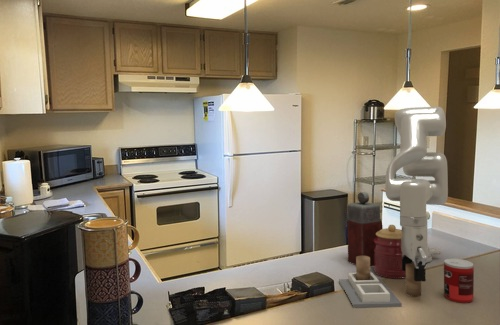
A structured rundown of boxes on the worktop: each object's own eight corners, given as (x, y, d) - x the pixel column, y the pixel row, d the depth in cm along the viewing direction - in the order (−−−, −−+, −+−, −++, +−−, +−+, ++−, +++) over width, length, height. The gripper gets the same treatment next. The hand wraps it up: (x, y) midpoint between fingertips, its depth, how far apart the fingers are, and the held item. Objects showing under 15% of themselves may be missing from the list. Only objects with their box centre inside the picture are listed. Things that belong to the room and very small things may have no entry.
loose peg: (417, 290, 125) (417, 263, 124) (423, 296, 120) (423, 267, 120) (403, 291, 125) (403, 263, 124) (409, 296, 120) (408, 268, 120)
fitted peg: (368, 281, 131) (367, 255, 130) (372, 286, 127) (371, 259, 126) (355, 282, 131) (354, 255, 130) (358, 287, 127) (358, 259, 126)
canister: (387, 281, 134) (387, 230, 132) (366, 269, 146) (366, 222, 145) (419, 276, 137) (419, 226, 136) (396, 265, 150) (396, 219, 148)
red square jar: (385, 263, 152) (384, 192, 150) (362, 268, 147) (361, 194, 146) (370, 257, 160) (369, 189, 158) (347, 261, 156) (346, 191, 154)
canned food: (447, 290, 124) (447, 256, 123) (475, 296, 119) (476, 261, 118) (440, 299, 118) (440, 263, 117) (470, 305, 113) (471, 268, 112)
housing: (379, 281, 134) (379, 271, 134) (401, 306, 114) (401, 294, 114) (339, 282, 134) (338, 272, 134) (353, 307, 114) (353, 296, 114)
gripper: (438, 226, 112) (438, 285, 113) (413, 216, 130) (414, 267, 130) (411, 227, 112) (412, 285, 113) (391, 216, 130) (391, 267, 130)
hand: (413, 275), depth 122 cm, fingers open, 9 cm apart
